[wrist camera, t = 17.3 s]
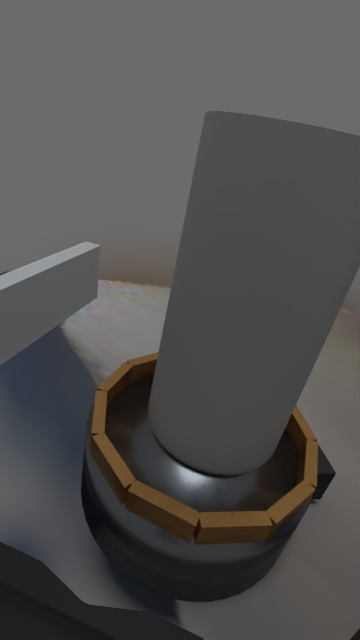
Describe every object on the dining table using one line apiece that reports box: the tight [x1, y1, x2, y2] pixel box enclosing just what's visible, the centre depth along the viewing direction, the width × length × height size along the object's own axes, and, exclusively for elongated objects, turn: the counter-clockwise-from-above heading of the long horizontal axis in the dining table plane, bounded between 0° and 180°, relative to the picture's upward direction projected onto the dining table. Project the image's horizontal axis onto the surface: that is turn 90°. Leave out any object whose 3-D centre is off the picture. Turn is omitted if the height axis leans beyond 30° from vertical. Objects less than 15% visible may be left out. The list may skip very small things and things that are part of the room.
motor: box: [81, 352, 336, 601], centre depth 33 cm, size 24×21×9 cm
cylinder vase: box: [148, 111, 360, 475], centre depth 27 cm, size 12×12×25 cm
